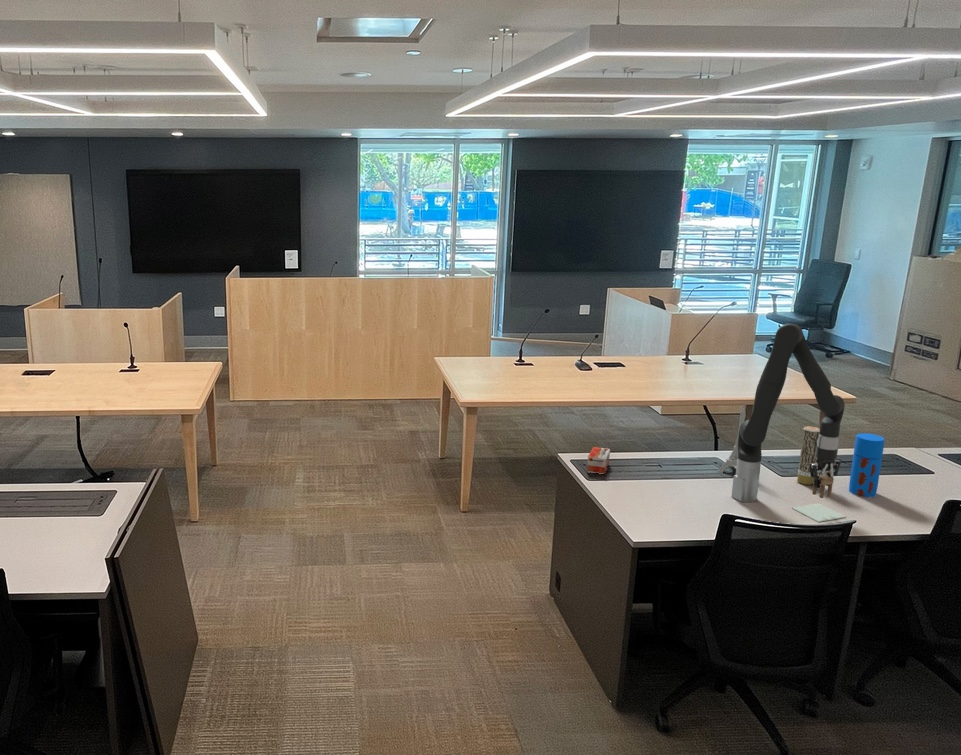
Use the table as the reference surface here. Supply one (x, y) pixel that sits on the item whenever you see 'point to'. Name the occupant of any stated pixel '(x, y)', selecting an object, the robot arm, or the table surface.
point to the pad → (819, 512)
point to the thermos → (866, 465)
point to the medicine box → (598, 460)
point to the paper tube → (808, 454)
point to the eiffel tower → (734, 455)
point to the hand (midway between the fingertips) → (822, 486)
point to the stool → (824, 481)
